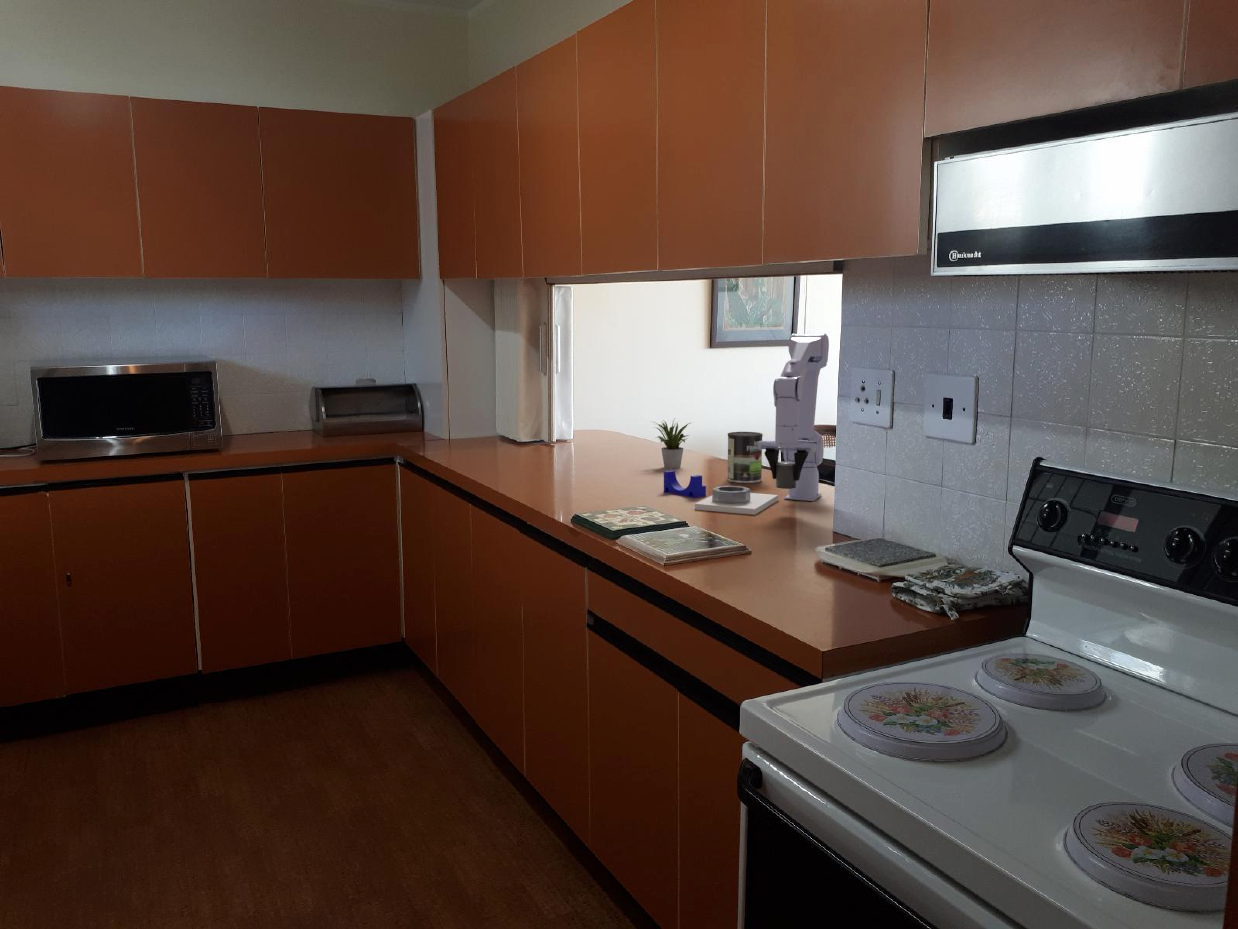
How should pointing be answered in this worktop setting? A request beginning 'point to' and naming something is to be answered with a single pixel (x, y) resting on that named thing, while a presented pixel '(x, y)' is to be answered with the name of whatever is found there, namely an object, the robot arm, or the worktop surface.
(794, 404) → the robot arm
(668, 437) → the house plant
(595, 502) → the worktop surface
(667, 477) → the blue u-shaped cradle block
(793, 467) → the dark gray cylinder
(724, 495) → the socket board
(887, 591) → the worktop surface
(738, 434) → the coffee can
